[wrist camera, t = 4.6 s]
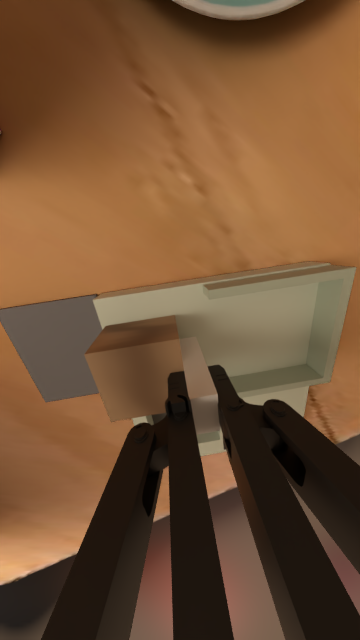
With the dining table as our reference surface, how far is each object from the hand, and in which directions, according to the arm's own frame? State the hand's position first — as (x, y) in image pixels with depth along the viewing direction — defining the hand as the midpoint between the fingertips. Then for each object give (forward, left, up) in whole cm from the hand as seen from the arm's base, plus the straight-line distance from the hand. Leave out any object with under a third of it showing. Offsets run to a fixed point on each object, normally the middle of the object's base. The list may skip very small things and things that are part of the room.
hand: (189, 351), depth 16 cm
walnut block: (-4, 0, -1) cm, 4 cm away
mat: (-12, 0, -4) cm, 13 cm away
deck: (+3, -6, -4) cm, 7 cm away
